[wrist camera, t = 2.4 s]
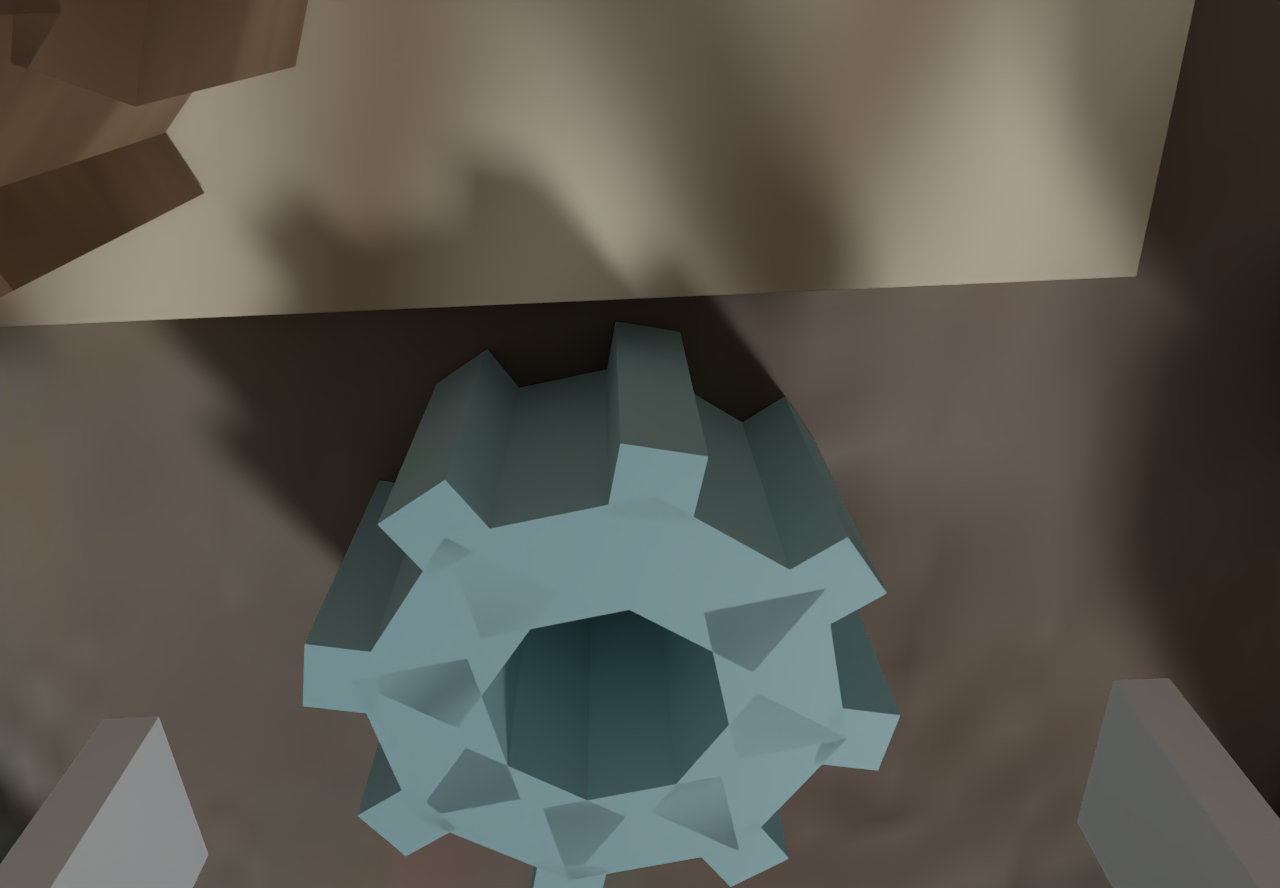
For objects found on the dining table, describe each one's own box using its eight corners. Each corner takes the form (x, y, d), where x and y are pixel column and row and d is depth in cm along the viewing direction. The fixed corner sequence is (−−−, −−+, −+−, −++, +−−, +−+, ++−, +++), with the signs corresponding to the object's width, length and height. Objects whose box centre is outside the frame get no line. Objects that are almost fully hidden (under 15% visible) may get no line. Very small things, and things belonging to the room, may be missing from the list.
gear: (458, 737, 21) (420, 941, 16) (316, 385, 17) (213, 527, 12) (846, 664, 20) (915, 854, 16) (793, 283, 16) (864, 393, 12)
